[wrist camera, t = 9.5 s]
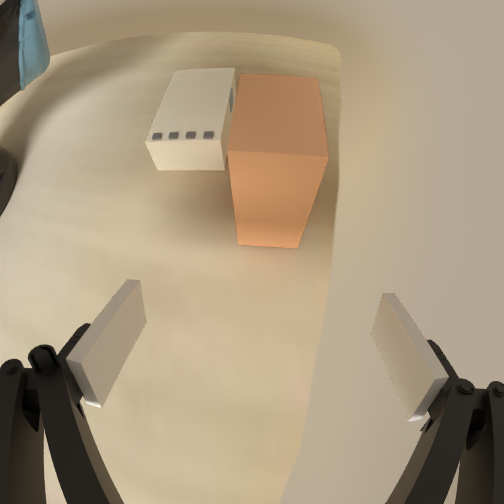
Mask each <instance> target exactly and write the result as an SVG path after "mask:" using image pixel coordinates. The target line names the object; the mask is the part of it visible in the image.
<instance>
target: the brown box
mask: <svg viewBox="0 0 504 504" xmlns="http://www.w3.org/2000/svg"><path fill="white" fill-rule="evenodd" d="M227 155H228V163H229V172H230V180H231V189H232V197H233V205H234V213H235V222H236V230H237V238H238V245H250V246H267V247H284V248H298V245H299V243H300V240H301V237H302V234H303V232H304V229H305V226H306V223H307V220H308V218H309V215H310V212H311V209H312V206H313V203H314V201H315V198H316V195H317V192H318V189H319V186H320V183H321V180H322V177H323V174H324V171H325V168H326V165H327V162H328V159H329V153H328V144H327V136H326V129H325V121H324V114H323V108H322V101H321V95H320V89H319V83H318V79H316V78H307V77H297V76H286V75H270V74H241V73H240V77H239V82H238V88H237V93H236V99H235V105H234V111H233V117H232V123H231V129H230V135H229V142H228V148H227Z"/></svg>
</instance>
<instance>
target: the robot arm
mask: <svg viewBox="0 0 504 504" xmlns="http://www.w3.org/2000/svg"><path fill="white" fill-rule="evenodd" d="M49 62H50V53H49V49H48V44H47V40H46V35H45V31H44V27H43V23H42V18H41V14H40V10H39V6H38V2H37V0H0V106H1V105H2V104H4V103H5V102H6V101H7V100H9V99H10V98H11V97H12V96H14V95H15V94H16V93H17V92H19V91H20V90H21V91H23V90H24V89H25V87H26V86H27V85H28V84H29V83H31V82H32V81H33V80H34V79H36V78H37V77H38V76H40V75H41V74H42V73H44V71H45V70H46V69H47V67H48V65H49ZM16 176H17V162H16V160H15V158H14V157H13V156H12V155H11V154H10V153H9V152H8V150H6V149H5V148H3V147H1V146H0V215H1V213H2V211H3V210H4V208H5V206H6V204H7V202H8V200H9V197H10V195H11V193H12V190H13V187H14V184H15V180H16ZM145 324H146V316H145V310H144V304H143V298H142V292H141V285H140V281H139V280H128V279H127V281H126V282H125V283H124V284H123V285H122V287H121V288H120V289H119V290H118V291H117V293H116V294H115V295H114V296H113V298H112V299H111V300H110V301H109V303H108V304H107V305H106V306H105V308H104V309H103V310H102V311H101V313H100V314H99V315H98V316H97V318H96V319H95V320H94V322H93V323H92V324H88V323H85V324H84V325H82V326H81V327H79V328H78V329H77V330H76V332H75V333H74V334H73V337H71V338H70V339H69V340H68V341H69V342H67V343H66V344H65V346H64V347H63V348H62V350H61V351H60V352H59V354H58V355H56V352H55V350H54V348H53V347H52V346H50V345H46V344H45V345H39V346H37V347H35V348H33V349H32V350H31V351H30V353H29V354H28V360H29V362H30V364H31V366H32V368H24V366H23V365H22V363H21V361H20V360H18V359H10V360H8V361H6V362H4V363H3V364H2V366H1V368H0V504H46V494H45V481H44V430H45V434H46V438H47V442H48V446H49V450H50V454H51V457H52V461H53V464H54V468H55V471H56V474H57V477H58V480H59V483H60V486H61V489H62V491H63V494H64V497H65V499H66V502H67V504H124V502H123V501H122V499H121V497H120V495H119V493H118V491H117V489H116V487H115V485H114V483H113V481H112V479H111V477H110V475H109V473H108V471H107V469H106V467H105V465H104V462H103V460H102V458H101V456H100V453H99V451H98V448H97V446H96V444H95V441H94V439H93V436H92V433H91V431H90V428H89V425H88V422H87V420H86V417H85V414H84V411H83V408H82V405H81V403H80V402H79V401H80V400H81V398H82V396H83V397H84V398H85V400H86V402H87V404H90V405H93V406H97V407H100V408H102V406H103V404H104V402H105V400H106V398H107V396H108V394H109V392H110V390H111V388H112V386H113V384H114V382H115V380H116V378H117V376H118V374H119V372H120V370H121V369H122V367H123V365H124V363H125V361H126V359H127V357H128V355H129V353H130V351H131V350H132V348H133V346H134V344H135V342H136V340H137V339H138V337H139V335H140V333H141V331H142V329H143V328H144V326H145ZM371 335H372V337H373V340H374V342H375V344H376V346H377V348H378V350H379V353H380V355H381V357H382V360H383V362H384V364H385V367H386V369H387V371H388V373H389V376H390V378H391V381H392V383H393V385H394V388H395V390H396V393H397V395H398V398H399V400H400V403H401V405H402V408H403V410H404V413H405V415H406V418H407V421H408V422H409V421H414V420H419V419H422V418H423V417H424V415H425V413H426V412H427V411H428V412H429V415H430V418H429V419H428V421H427V422H426V423H425V424H424V426H423V427H422V429H421V430H420V431H423V432H422V434H421V437H420V439H419V441H418V444H417V446H416V448H415V450H414V452H413V454H412V456H411V458H410V460H409V462H408V464H407V466H406V468H405V470H404V472H403V474H402V476H401V478H400V480H399V482H398V483H397V485H396V487H395V488H394V490H393V492H392V494H391V495H390V497H389V499H388V500H387V502H386V503H385V504H443V503H444V501H445V499H446V496H447V494H448V491H449V488H450V486H451V484H452V481H453V478H454V475H455V473H456V469H457V467H458V464H459V461H460V467H459V477H458V486H457V494H456V500H455V504H504V384H503V383H501V382H498V381H493V382H491V383H490V384H489V386H488V387H487V389H476V388H475V387H474V385H473V384H472V383H471V382H470V381H468V380H466V379H462V378H461V379H459V377H458V376H457V374H456V372H455V371H454V369H453V367H452V366H451V365H450V363H449V361H448V360H447V358H446V356H445V355H444V354H443V352H442V351H441V349H440V347H439V346H438V345H437V344H436V343H435V342H433V341H432V340H426V339H425V337H424V336H423V334H422V333H421V331H420V330H419V328H418V327H417V325H416V324H415V322H414V321H413V319H412V318H411V316H410V315H409V313H408V312H407V310H406V309H405V308H404V306H403V305H402V303H401V302H400V300H399V299H398V298H397V296H396V295H395V293H383V294H382V298H381V301H380V305H379V308H378V311H377V315H376V318H375V321H374V325H373V328H372V331H371ZM423 429H424V430H423Z"/></svg>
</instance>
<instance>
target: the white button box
mask: <svg viewBox="0 0 504 504" xmlns="http://www.w3.org/2000/svg"><path fill="white" fill-rule="evenodd" d="M235 99H236V79H235V68H201V69H185V70H175V72H174V74H173V76H172V78H171V81H170V83H169V85H168V87H167V89H166V92H165V94H164V96H163V98H162V101H161V103H160V106H159V108H158V110H157V113H156V115H155V118H154V120H153V123H152V125H151V128H150V130H149V133H148V136H147V138H146V141H145V143H146V145H147V148H148V150H149V152H150V154H151V157H152V159H153V161H154V163H155V166H156V168H157V170H209V171H225V165H226V158H227V148H228V142H229V135H230V129H231V123H232V117H233V111H234V105H235Z"/></svg>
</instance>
